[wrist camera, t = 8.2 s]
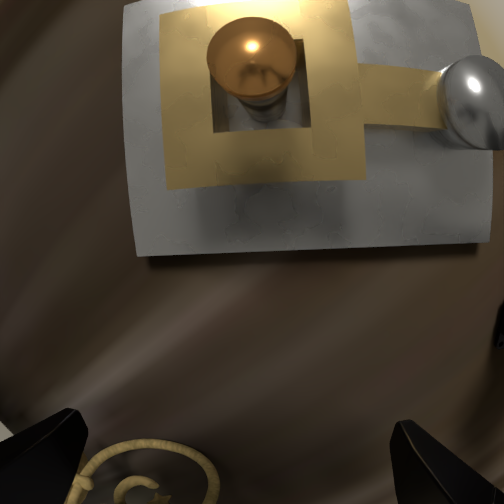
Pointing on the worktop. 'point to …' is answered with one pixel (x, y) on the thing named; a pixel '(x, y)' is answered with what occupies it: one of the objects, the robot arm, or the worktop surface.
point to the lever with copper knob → (254, 64)
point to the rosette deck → (311, 206)
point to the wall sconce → (87, 469)
